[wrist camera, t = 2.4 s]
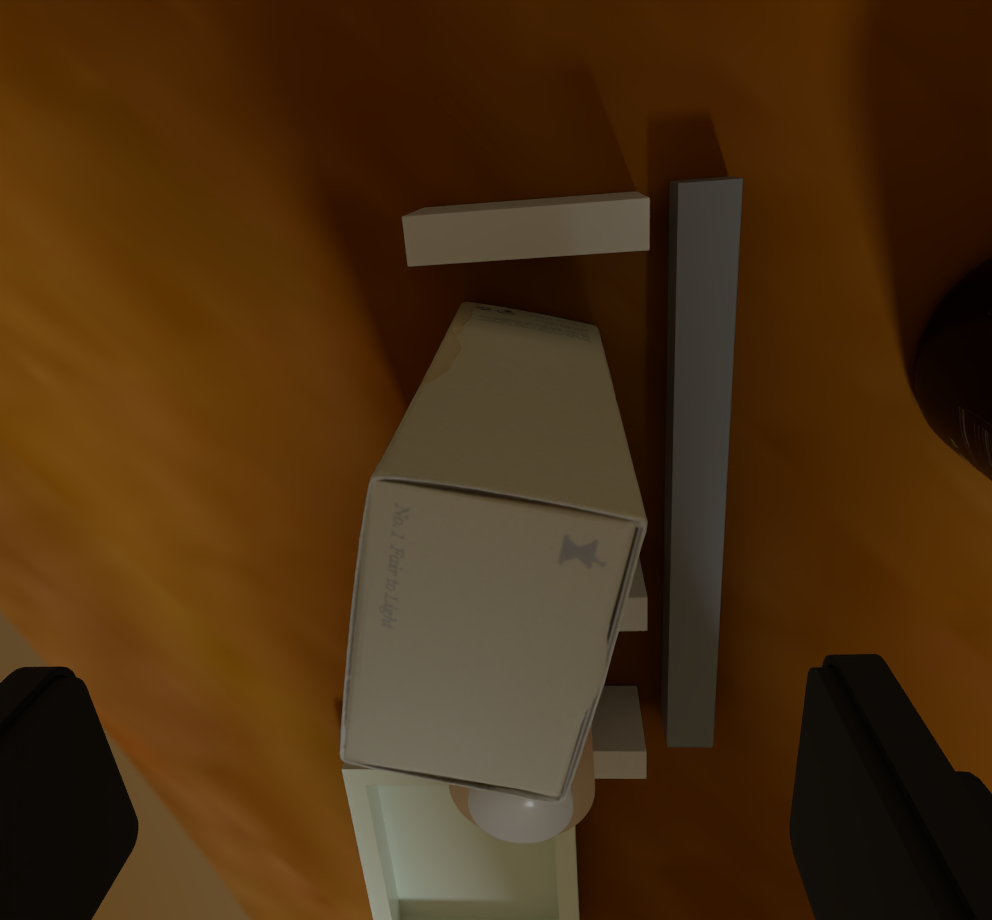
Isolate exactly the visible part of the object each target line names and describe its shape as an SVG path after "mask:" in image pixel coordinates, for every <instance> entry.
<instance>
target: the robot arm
mask: <svg viewBox="0 0 992 920" xmlns="http://www.w3.org/2000/svg"><path fill="white" fill-rule="evenodd" d="M137 835H138V820H137V816H136V814H135V811H134V808H133V806H132V803H131V801H130V798H129V795H128V793H127V790H126V788H125V785H124V783H123V780H122V777H121V775H120V773H119V770H118V767H117V764H116V762H115V759H114V757H113V754H112V752H111V749H110V746H109V744H108V741H107V739H106V736H105V733H104V731H103V728H102V726H101V723H100V721H99V718H98V715H97V713H96V710H95V708H94V705H93V703H92V700H91V697H90V695H89V692H88V690H87V687H86V685H85V683H84V682H83V681H82V680H81V679H80V678H76V676H75V674H74V673H73V671H71V670H70V669H69V668H67V667H23V668H19V669H16V670H15V671H14V672H12V673H11V674H9V675H8V676H7V677H6V678H5V679H4V680H3V681H2V682H1V683H0V920H91V919H92V918H93V916H94V914H95V913H96V911H97V909H98V908H99V906H100V904H101V903H102V901H103V899H104V897H105V896H106V894H107V892H108V891H109V889H110V887H111V886H112V884H113V882H114V880H115V879H116V877H117V875H118V874H119V872H120V870H121V869H122V867H123V865H124V864H125V862H126V860H127V859H128V857H129V855H130V853H131V852H132V850H133V848H134V846H135V843H136V840H137ZM790 838H791V845H792V850H793V854H794V857H795V860H796V863H797V866H798V869H799V872H800V875H801V878H802V881H803V884H804V887H805V890H806V893H807V896H808V899H809V902H810V905H811V908H812V911H813V914H814V917H815V920H992V794H991V792H990V791H989V790H988V789H987V787H986V786H985V785H984V784H983V783H982V781H981V780H980V779H979V778H977V777H976V776H974V775H973V774H971V773H970V772H961V771H955V770H954V769H953V767H952V766H951V764H950V763H949V761H948V759H947V758H946V756H945V755H944V753H943V752H942V750H941V748H940V747H939V745H938V744H937V742H936V741H935V739H934V737H933V736H932V734H931V733H930V731H929V730H928V728H927V726H926V725H925V723H924V722H923V720H922V719H921V717H920V716H919V714H918V712H917V711H916V709H915V708H914V706H913V705H912V703H911V701H910V700H909V698H908V697H907V695H906V694H905V692H904V690H903V689H902V687H901V686H900V684H899V683H898V681H897V679H896V678H895V676H894V675H893V673H892V672H891V670H890V668H889V667H888V665H887V664H886V662H885V661H884V660H883V659H882V657H881V656H879V655H877V654H858V655H828V656H826V657H825V659H824V661H823V665H822V667H820V668H810V670H809V672H808V677H807V685H806V693H805V701H804V710H803V718H802V726H801V734H800V743H799V751H798V759H797V767H796V776H795V784H794V792H793V801H792V809H791V817H790Z"/></svg>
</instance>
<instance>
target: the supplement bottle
mask: <svg viewBox="0 0 992 920" xmlns="http://www.w3.org/2000/svg"><path fill="white" fill-rule="evenodd" d="M914 381H915V390H916V396H917V399H918V403H919V406H920V409H921V411H922V413H923V415H924V418H925V419H926V421H927V422H928V424H929V426H930V427H931V428H932V430H933V431H934V432H935V433H936V434H937V435H938V437H939V438H940V439H941V440H942V441H943V442H945V443H946V444H947V445H948V446H949V447H950V448H951V449H953V450H954V451H955V452H956V453H957V454H958V455H960V456H961V457H962V458H963V459H965V460H966V461H967V462H968V463H970V464H971V465H972V466H973V467H975V468H976V469H977V470H978V471H980V472H981V473H982V474H984V475H985V476H986V477H987V478H989V479H990V480H991V481H992V257H991V258H990V259H988V260H987V261H985V262H983V263H982V264H980V265H979V266H978V267H976V268H975V269H974V270H972V271H971V272H970V273H969V274H967V275H966V276H965V277H964V278H963V279H962V280H961V281H960V282H959V283H958V284H957V285H956V286H955V287H954V288H953V289H952V290H951V291H950V292H949V293H948V294H947V295H946V297H945V298H944V299H943V300H942V302H941V303H940V304H939V306H938V307H937V309H936V310H935V312H934V313H933V315H932V317H931V318H930V320H929V322H928V324H927V326H926V328H925V330H924V332H923V335H922V338H921V340H920V343H919V347H918V350H917V354H916V360H915V370H914Z"/></svg>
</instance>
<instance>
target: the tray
mask: <svg viewBox="0 0 992 920" xmlns="http://www.w3.org/2000/svg"><path fill="white" fill-rule="evenodd" d="M342 773H343V778H344V783H345V788H346V792H347V797H348V802H349V807H350V811H351V816H352V821H353V826H354V830H355V835H356V840H357V845H358V849H359V854H360V859H361V864H362V868H363V873H364V878H365V883H366V887H367V892H368V897H369V902H370V906H371V911H372V916H373V920H580V914H579V892H578V871H577V849H576V828H575V826H574V827H572V828H571V829H569V830H567V831H565V832H563V833H561V834H558V835H556V836H554V837H552V838H550V839H547V840H544V841H541V842H536V843H524V844H523V843H513V842H508V841H504V840H501V839H498V838H496V837H494V836H492V835H490V834H488V833H487V832H485V831H484V830H483V829H481V828H480V827H478V826H476V825H475V824H473V823H472V822H471V821H469V820H468V819H467V818H466V817H465V816H464V815H463V814H462V813H461V812H460V810H459V809H458V808H457V806H456V805H455V803H454V801H453V799H452V796H451V794H450V789H449V784H445V783H441V782H437V781H431V780H426V779H421V778H417V777H412V776H407V775H402V774H397V773H393V772H388V771H382V770H375V769H370V768H366V767H362V766H357V765H351V764H348V763H345V762H344V764H343V767H342Z"/></svg>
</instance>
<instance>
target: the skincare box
mask: <svg viewBox="0 0 992 920" xmlns="http://www.w3.org/2000/svg"><path fill="white" fill-rule="evenodd" d="M647 524H648V522H647V517H646V514H645V511H644V506H643V502H642V498H641V494H640V490H639V486H638V482H637V479H636V475H635V472H634V467H633V463H632V459H631V455H630V451H629V447H628V443H627V439H626V435H625V431H624V427H623V423H622V420H621V416H620V412H619V408H618V404H617V401H616V396H615V392H614V388H613V384H612V380H611V375H610V372H609V368H608V364H607V360H606V356H605V352H604V348H603V344H602V340H601V336H600V332H599V329H598V328H597V327H596V326H595V325H591V324H586V323H581V322H577V321H572V320H567V319H562V318H558V317H553V316H548V315H543V314H538V313H532V312H527V311H522V310H517V309H511V308H505V307H500V306H493V305H486V304H480V303H474V302H463V303H461V305H460V307H459V309H458V311H457V313H456V315H455V317H454V319H453V321H452V323H451V325H450V327H449V329H448V331H447V333H446V335H445V337H444V339H443V341H442V343H441V345H440V347H439V349H438V351H437V353H436V355H435V357H434V359H433V361H432V363H431V365H430V367H429V369H428V370H427V372H426V374H425V376H424V378H423V380H422V382H421V384H420V387H419V388H418V390H417V392H416V394H415V396H414V398H413V399H412V401H411V403H410V405H409V407H408V409H407V411H406V413H405V415H404V417H403V419H402V421H401V423H400V425H399V427H398V429H397V430H396V432H395V434H394V436H393V438H392V440H391V442H390V444H389V446H388V447H387V449H386V451H385V453H384V455H383V457H382V459H381V460H380V462H379V464H378V465H377V467H376V468H375V470H374V472H373V474H372V476H371V478H370V481H369V485H368V490H367V496H366V501H365V507H364V512H363V520H362V527H361V532H360V538H359V546H358V555H357V562H356V569H355V579H354V586H353V595H352V604H351V613H350V623H349V635H348V646H347V656H346V667H345V680H344V689H343V706H342V720H341V730H340V759H341V760H342V761H343V762H345V763H348V764H351V765H357V766H362V767H366V768H370V769H375V770H382V771H388V772H393V773H397V774H402V775H407V776H412V777H417V778H421V779H426V780H431V781H437V782H441V783H445V784H451V785H458V786H462V787H467V788H472V789H477V790H482V791H488V792H494V793H499V794H504V795H511V796H515V797H520V798H525V799H530V800H536V801H542V802H546V803H561V802H563V801H564V800H566V798H567V796H568V793H569V790H570V787H571V785H572V782H573V779H574V776H575V773H576V770H577V767H578V764H579V761H580V758H581V755H582V752H583V749H584V745H585V742H586V739H587V736H588V733H589V730H590V727H591V724H592V721H593V718H594V714H595V711H596V708H597V705H598V702H599V699H600V696H601V693H602V690H603V687H604V683H605V680H606V676H607V672H608V669H609V665H610V661H611V658H612V654H613V650H614V647H615V643H616V640H617V637H618V633H619V630H620V626H621V622H622V618H623V614H624V611H625V607H626V603H627V600H628V596H629V593H630V589H631V585H632V582H633V578H634V574H635V570H636V567H637V563H638V558H639V554H640V551H641V547H642V544H643V540H644V537H645V534H646V531H647Z"/></svg>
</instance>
